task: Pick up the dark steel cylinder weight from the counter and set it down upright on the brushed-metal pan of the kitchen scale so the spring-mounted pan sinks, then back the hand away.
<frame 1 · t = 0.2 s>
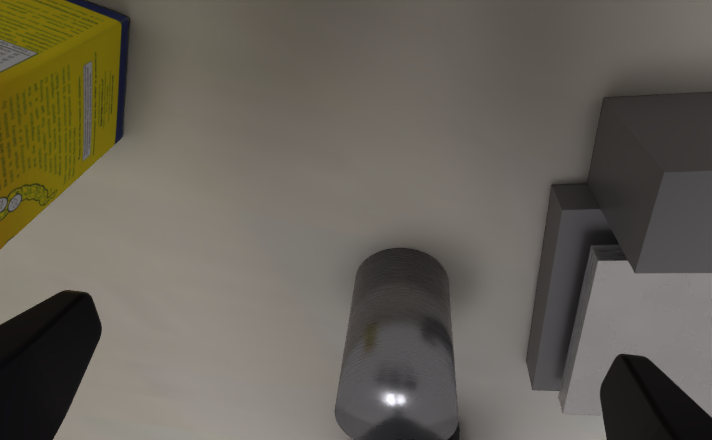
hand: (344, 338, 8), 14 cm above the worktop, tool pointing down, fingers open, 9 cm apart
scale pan: (694, 340, 22), point 4 cm above the worktop, slide at 0.4 cm
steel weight: (401, 284, 27), on the worktop
supplement box: (63, 58, 21), on the worktop
scale: (662, 284, 25), on the worktop
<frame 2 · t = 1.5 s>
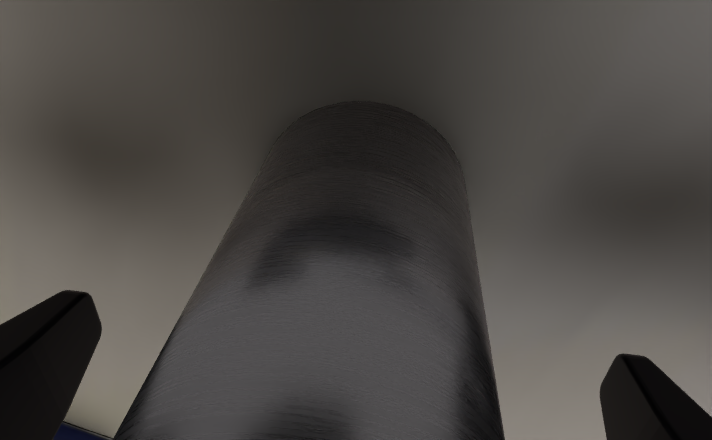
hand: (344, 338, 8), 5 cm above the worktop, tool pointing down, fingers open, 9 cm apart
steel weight: (362, 198, 12), on the worktop
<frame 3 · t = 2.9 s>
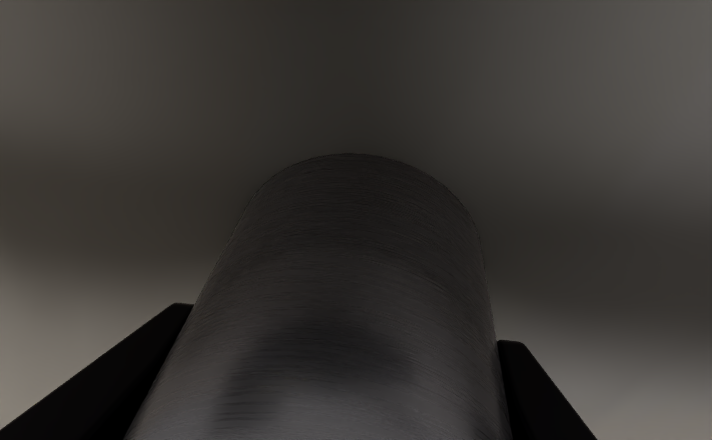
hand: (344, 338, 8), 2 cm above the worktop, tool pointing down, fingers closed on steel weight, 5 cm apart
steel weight: (357, 263, 10), on the worktop, touching gripper
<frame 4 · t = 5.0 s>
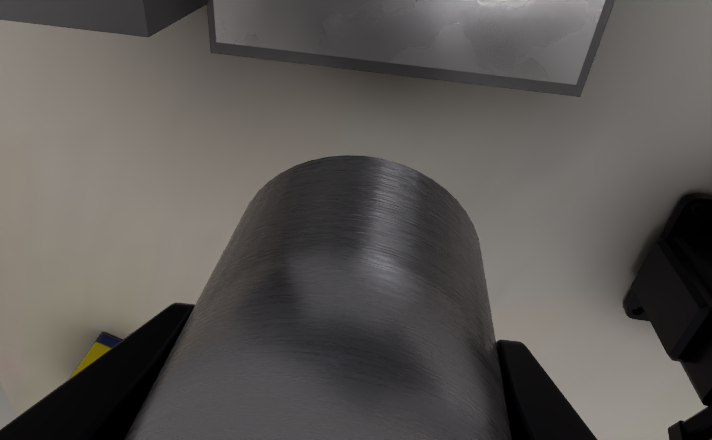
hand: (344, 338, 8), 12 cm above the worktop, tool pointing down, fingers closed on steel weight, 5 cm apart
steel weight: (356, 264, 10), point 10 cm above the worktop, touching gripper
supplement box: (140, 374, 30), on the worktop
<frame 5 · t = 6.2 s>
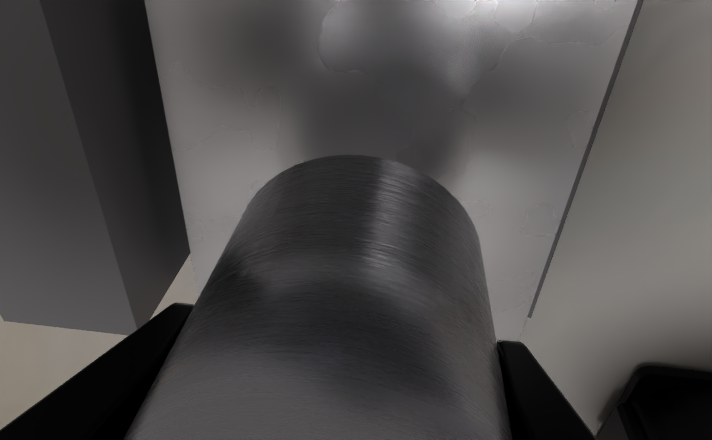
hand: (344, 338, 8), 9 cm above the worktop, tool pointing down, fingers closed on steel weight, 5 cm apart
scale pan: (367, 175, 13), point 4 cm above the worktop, slide at 0.4 cm
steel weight: (356, 264, 10), point 7 cm above the worktop, touching gripper
scale: (377, 120, 16), on the worktop
when the fingers open (8 cm above the worktop, at t = 7.2 s): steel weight drops 2 cm, resting on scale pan.
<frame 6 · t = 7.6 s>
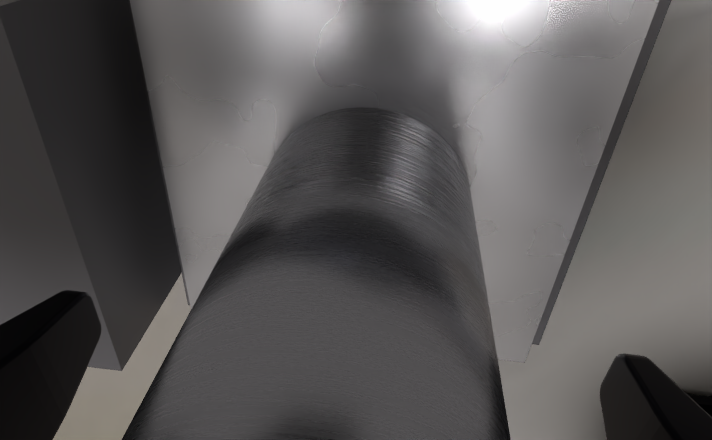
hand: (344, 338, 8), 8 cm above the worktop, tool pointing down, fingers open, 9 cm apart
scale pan: (367, 192, 12), point 3 cm above the worktop, slide at 0.8 cm, touching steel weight
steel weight: (366, 205, 12), point 4 cm above the worktop, touching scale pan
scale: (376, 138, 15), on the worktop
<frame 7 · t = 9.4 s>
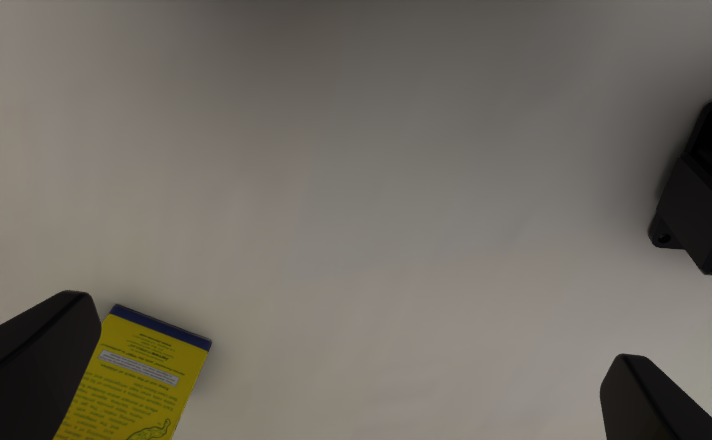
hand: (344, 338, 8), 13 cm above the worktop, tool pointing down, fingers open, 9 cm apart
supplement box: (157, 348, 30), on the worktop
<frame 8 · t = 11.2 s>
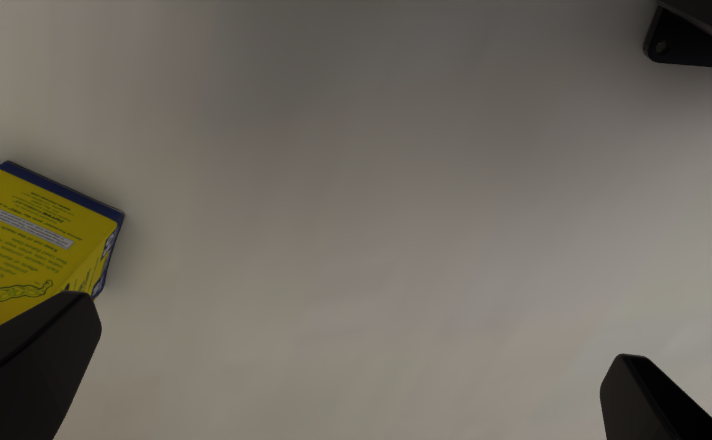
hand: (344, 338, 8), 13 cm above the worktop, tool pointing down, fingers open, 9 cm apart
supplement box: (62, 226, 25), on the worktop
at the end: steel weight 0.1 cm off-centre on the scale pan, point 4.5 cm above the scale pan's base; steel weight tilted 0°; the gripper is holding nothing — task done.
